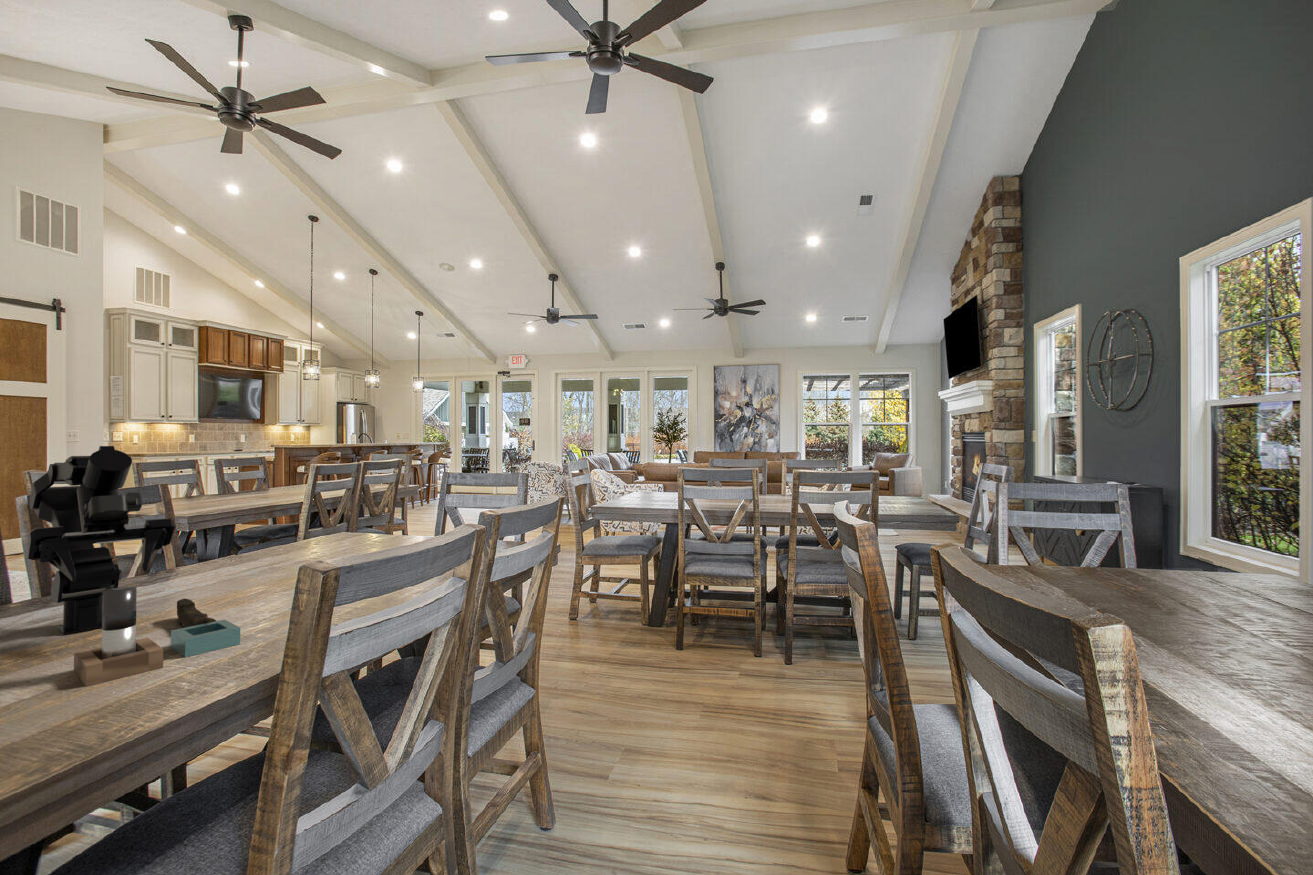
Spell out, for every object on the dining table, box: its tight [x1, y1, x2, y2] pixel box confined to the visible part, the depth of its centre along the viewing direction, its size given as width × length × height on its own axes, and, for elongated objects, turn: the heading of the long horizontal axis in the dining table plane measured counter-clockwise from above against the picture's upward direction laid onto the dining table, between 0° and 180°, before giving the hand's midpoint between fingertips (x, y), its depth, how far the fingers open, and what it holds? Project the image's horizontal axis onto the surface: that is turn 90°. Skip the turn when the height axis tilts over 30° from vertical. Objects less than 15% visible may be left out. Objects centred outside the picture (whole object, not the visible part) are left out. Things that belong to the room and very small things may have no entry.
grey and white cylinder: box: [101, 586, 138, 660], centre depth 91 cm, size 4×4×13 cm
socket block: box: [170, 619, 241, 658], centre depth 102 cm, size 8×8×3 cm
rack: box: [73, 637, 164, 687], centre depth 91 cm, size 9×9×3 cm
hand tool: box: [176, 598, 217, 628], centre depth 112 cm, size 19×4×5 cm, turn 48°
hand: (111, 574), depth 99 cm, fingers open, 9 cm apart
